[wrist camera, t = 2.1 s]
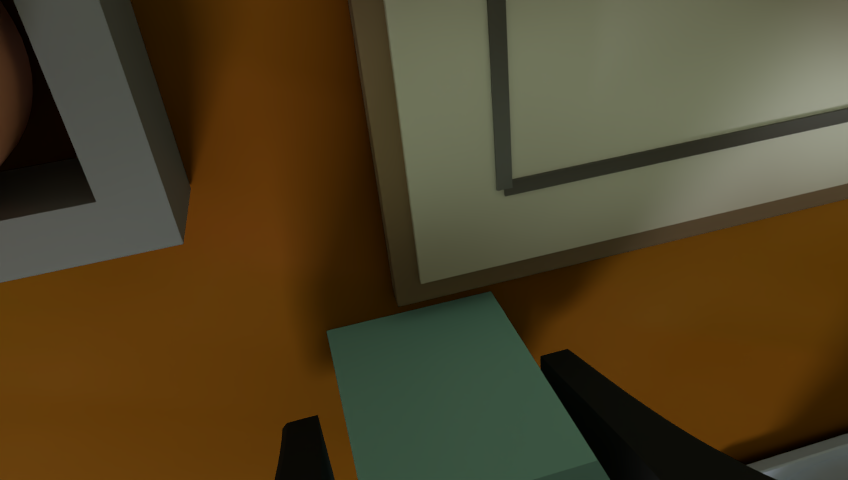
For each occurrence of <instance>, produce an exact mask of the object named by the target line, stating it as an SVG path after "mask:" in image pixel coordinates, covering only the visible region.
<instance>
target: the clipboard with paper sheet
mask: <svg viewBox="0 0 848 480" xmlns="http://www.w3.org/2000/svg"><path fill="white" fill-rule="evenodd" d="M348 4H349V10H350V17H351V23H352V30H353V36H354V42H355V49H356V55H357V62H358V68H359V74H360V81H361V87H362V94H363V100H364V106H365V113H366V119H367V125H368V132H369V138H370V145H371V151H372V157H373V164H374V170H375V177H376V183H377V189H378V196H379V202H380V209H381V215H382V221H383V228H384V234H385V240H386V247H387V253H388V260H389V266H390V272H391V279H392V285H393V292H394V297H395V299H396V302H397V304H398V307H400V306H404V305H408V304H413V303H417V302H421V301H425V300H429V299H433V298H437V297H442V296H446V295H450V294H454V293H458V292H462V291H467V290H471V289H475V288H479V287H483V286H487V285H491V284H496V283H500V282H504V281H508V280H512V279H516V278H521V277H525V276H529V275H533V274H537V273H541V272H545V271H550V270H554V269H558V268H562V267H566V266H570V265H575V264H579V263H583V262H587V261H591V260H595V259H599V258H604V257H608V256H612V255H616V254H620V253H624V252H629V251H633V250H637V249H641V248H645V247H649V246H653V245H658V244H662V243H666V242H670V241H674V240H678V239H683V238H687V237H691V236H695V235H699V234H703V233H707V232H712V231H716V230H720V229H724V228H728V227H732V226H737V225H741V224H745V223H749V222H753V221H757V220H761V219H766V218H770V217H774V216H778V215H782V214H786V213H791V212H795V211H799V210H803V209H807V208H811V207H815V206H820V205H824V204H828V203H832V202H836V201H840V200H844V199H848V0H348Z"/></svg>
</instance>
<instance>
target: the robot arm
mask: <svg viewBox="0 0 848 480" xmlns="http://www.w3.org/2000/svg"><path fill="white" fill-rule="evenodd" d="M541 371H542V373H543V374H544V376H545V378H546V379H547V381H548V382H549V384H550V385H551V387H552V389H553V390H554V392H555V393H556V395H557V397H558V398H559V400H560V401H561V403H562V404H563V406H564V408H565V409H566V411H567V412H568V414H569V415H570V417H571V419H572V420H573V422H574V423H575V425H576V427H577V428H578V430H579V431H580V433H581V434H582V436H583V438H584V439H585V441H586V442H587V444H588V446H589V447H590V449H591V450H592V452H593V453H594V455H595V457H596V458H597V460H598V461H599V463H600V464H601V466H602V468H603V469H604V471H605V472H606V474H607V476H608V477H609V479H610V480H848V433H847V434H843V435H840V436H837V437H834V438H831V439H827V440H824V441H821V442H818V443H815V444H811V445H808V446H805V447H802V448H799V449H795V450H792V451H789V452H786V453H783V454H779V455H776V456H773V457H770V458H767V459H763V460H760V461H757V462H754V463H751V464H747V465H745V464H743V463H741V462H739V461H737V460H735V459H733V458H731V457H730V456H728V455H726V454H724V453H722V452H720V451H718V450H716V449H714V448H713V447H711V446H709V445H707V444H705V443H704V442H702V441H700V440H699V439H697V438H695V437H693V436H692V435H690V434H689V433H687V432H685V431H684V430H682V429H680V428H679V427H677V426H676V425H674V424H672V423H671V422H669V421H668V420H666V419H665V418H663V417H662V416H660V415H659V414H657V413H656V412H654V411H653V410H651V409H650V408H648V407H647V406H645V405H644V404H642V403H641V402H639V401H638V400H637V399H635V398H634V397H632V396H631V395H629V394H628V393H627V392H625V391H624V390H622V389H621V388H620V387H618V386H617V385H615V384H614V383H613V382H611V381H610V380H609V379H607V378H606V377H605V376H603V375H602V374H601V373H599V372H598V371H597V370H595V369H594V368H593V367H591V366H590V365H589V364H587V363H586V362H585V361H583V360H582V359H581V358H579V357H578V356H577V355H575V354H574V353H572V352H571V351H570V350H568V349H566V350H562V351H558V352H554V353H551V354H547V355H543V356H541ZM275 480H335V479H334V475H333V472H332V468H331V464H330V460H329V456H328V453H327V449H326V445H325V441H324V437H323V434H322V430H321V426H320V422H319V418H318V415H316V416H312V417H308V418H304V419H301V420H297V421H293V422H289V423H287V424H286V425H285V426H284V428H283V430H282V442H281V449H280V456H279V461H278V467H277V471H276V476H275Z"/></svg>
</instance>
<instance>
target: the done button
mask: <svg viewBox="0 0 848 480" xmlns="http://www.w3.org/2000/svg"><path fill="white" fill-rule="evenodd" d="M32 97H33V84H32V73H31V68H30V63H29V58H28V55H27V52H26V49H25V46H24V43H23V40H22V38H21V36H20V34H19V32H18V30H17V28H16V26H15V24H14V22H13V20H12V18H11V17H10V15H9V14H8V12H7V10H6V9H5V7H4V6H3V4H2V3H1V1H0V166H1V165H2V163H3V162H4V161H5V160H6V158H7V157H8V156H9V155H10V154H11V152H12V151H13V149H14V148H15V146H16V145H17V144H18V142H19V141H20V139H21V137H22V135H23V133H24V130H25V128H26V126H27V123H28V120H29V116H30V112H31V107H32Z"/></svg>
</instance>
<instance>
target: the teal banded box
mask: <svg viewBox="0 0 848 480" xmlns="http://www.w3.org/2000/svg"><path fill="white" fill-rule="evenodd" d="M327 336H328V340H329V345H330V350H331V354H332V359H333V364H334V368H335V373H336V378H337V383H338V387H339V392H340V397H341V401H342V406H343V411H344V416H345V420H346V425H347V430H348V434H349V439H350V444H351V448H352V453H353V458H354V463H355V467H356V472H357V477H358V480H610V479H609V477H608V476H607V474H606V472H605V471H604V469H603V468H602V466H601V464H600V463H599V461H598V460H597V458H596V457H595V455H594V453H593V452H592V450H591V449H590V447H589V446H588V444H587V442H586V441H585V439H584V438H583V436H582V434H581V433H580V431H579V430H578V428H577V427H576V425H575V423H574V422H573V420H572V419H571V417H570V415H569V414H568V412H567V411H566V409H565V408H564V406H563V404H562V403H561V401H560V400H559V398H558V397H557V395H556V393H555V392H554V390H553V389H552V387H551V385H550V384H549V382H548V381H547V379H546V378H545V376H544V374H543V373H542V371H541V370H540V368H539V367H538V365H537V363H536V362H535V360H534V359H533V357H532V355H531V354H530V352H529V351H528V349H527V348H526V346H525V344H524V343H523V341H522V340H521V338H520V336H519V335H518V333H517V332H516V330H515V329H514V327H513V325H512V324H511V322H510V321H509V319H508V318H507V316H506V314H505V313H504V311H503V310H502V308H501V306H500V305H499V303H498V302H497V300H496V299H495V297H494V295H493V294H492V292H491V291H489V292H485V293H481V294H477V295H473V296H469V297H465V298H460V299H456V300H452V301H448V302H444V303H440V304H436V305H432V306H427V307H423V308H419V309H415V310H411V311H407V312H403V313H398V314H394V315H390V316H386V317H382V318H378V319H374V320H370V321H365V322H361V323H357V324H353V325H349V326H345V327H341V328H336V329H332V330H328V331H327Z"/></svg>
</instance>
